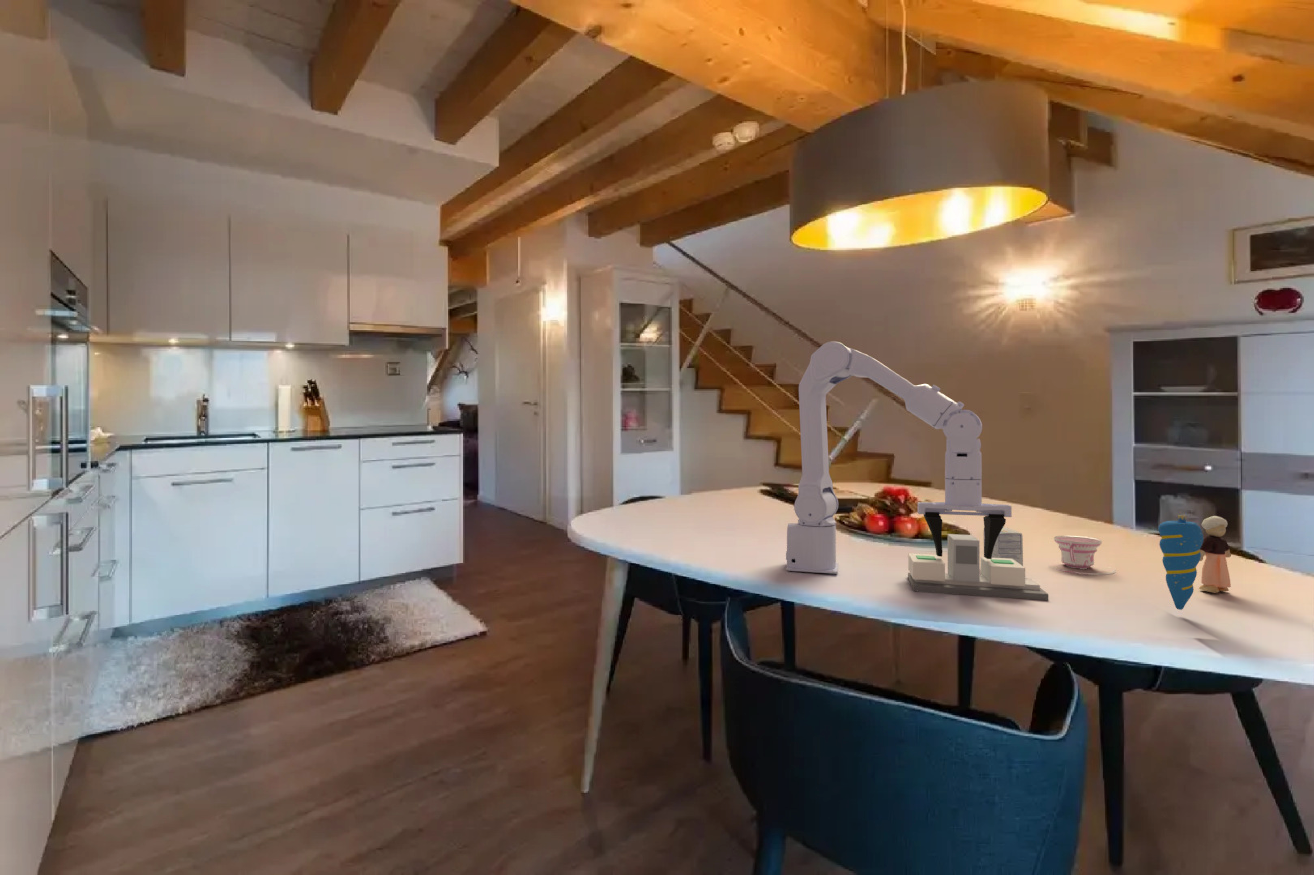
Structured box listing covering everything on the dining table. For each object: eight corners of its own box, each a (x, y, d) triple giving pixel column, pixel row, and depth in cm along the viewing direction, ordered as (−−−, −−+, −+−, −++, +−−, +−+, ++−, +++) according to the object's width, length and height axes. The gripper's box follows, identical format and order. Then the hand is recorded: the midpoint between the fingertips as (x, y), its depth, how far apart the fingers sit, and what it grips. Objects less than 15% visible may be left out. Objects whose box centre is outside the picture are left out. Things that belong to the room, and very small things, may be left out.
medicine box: (1023, 580, 110) (1023, 533, 110) (997, 579, 111) (997, 532, 111) (1007, 571, 118) (1007, 527, 118) (983, 570, 119) (983, 526, 119)
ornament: (1149, 605, 93) (1149, 509, 93) (1179, 604, 94) (1179, 508, 94) (1181, 614, 88) (1181, 513, 88) (1213, 614, 89) (1213, 512, 89)
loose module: (953, 580, 102) (953, 539, 102) (947, 572, 108) (947, 534, 108) (979, 582, 101) (979, 540, 101) (972, 574, 107) (972, 535, 107)
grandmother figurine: (1220, 595, 99) (1219, 518, 99) (1191, 589, 103) (1190, 516, 103) (1240, 589, 103) (1240, 515, 103) (1211, 584, 106) (1211, 513, 106)
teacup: (1051, 561, 128) (1051, 532, 128) (1121, 570, 119) (1121, 538, 119) (1035, 569, 119) (1035, 538, 119) (1109, 580, 111) (1109, 546, 111)
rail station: (913, 591, 102) (913, 561, 102) (907, 577, 112) (907, 551, 112) (1048, 600, 96) (1048, 569, 96) (1029, 585, 106) (1029, 557, 106)
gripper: (920, 479, 103) (921, 558, 103) (1016, 481, 99) (1016, 563, 99) (916, 476, 110) (916, 551, 110) (1005, 478, 105) (1005, 555, 105)
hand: (963, 556), depth 104 cm, fingers open, 7 cm apart
